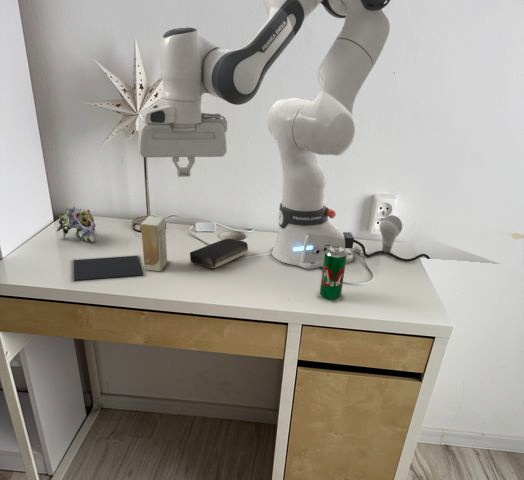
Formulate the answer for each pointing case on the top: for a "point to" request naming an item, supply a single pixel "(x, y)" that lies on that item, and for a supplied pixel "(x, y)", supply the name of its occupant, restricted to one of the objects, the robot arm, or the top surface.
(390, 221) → the lightbulb
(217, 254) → the black sponge
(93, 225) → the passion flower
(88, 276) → the mat
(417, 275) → the top surface
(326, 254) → the soda can
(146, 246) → the cosmetic box
